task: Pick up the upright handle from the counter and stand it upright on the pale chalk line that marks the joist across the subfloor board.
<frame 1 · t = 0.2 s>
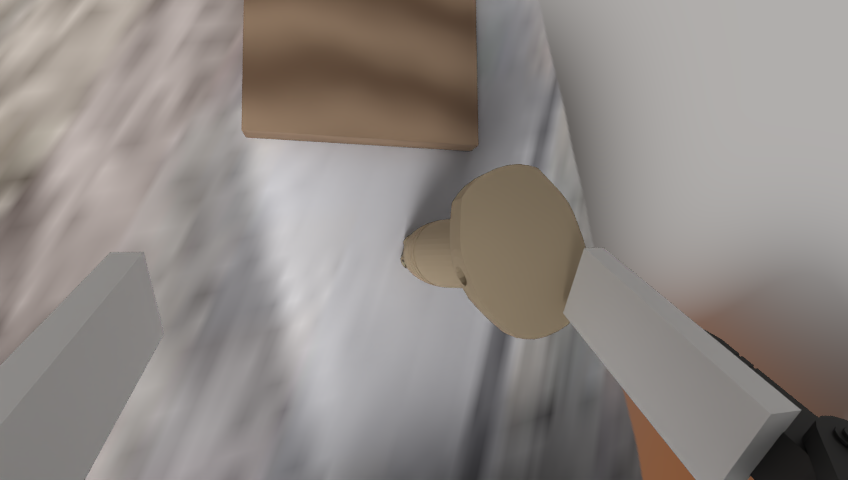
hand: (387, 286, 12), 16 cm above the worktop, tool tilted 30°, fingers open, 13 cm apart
subfloor board: (365, 10, 29), on the worktop
handle: (419, 254, 29), on the worktop
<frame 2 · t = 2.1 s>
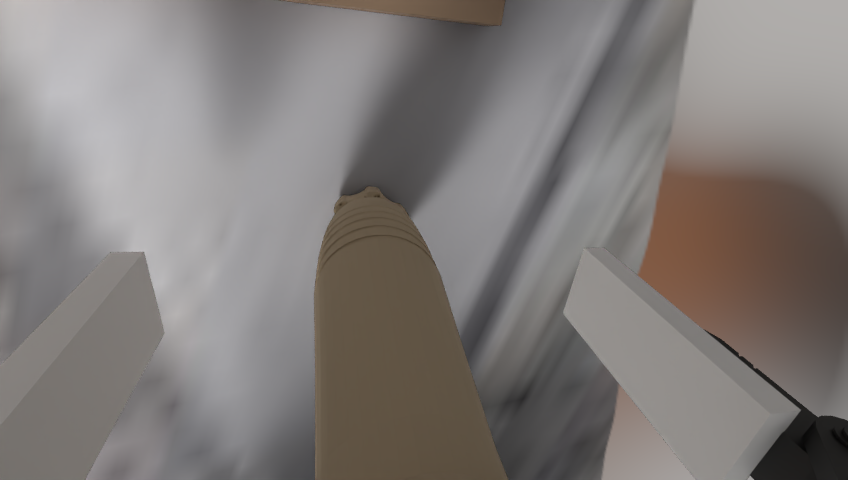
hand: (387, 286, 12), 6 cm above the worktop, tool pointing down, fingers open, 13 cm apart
handle: (367, 217, 17), on the worktop
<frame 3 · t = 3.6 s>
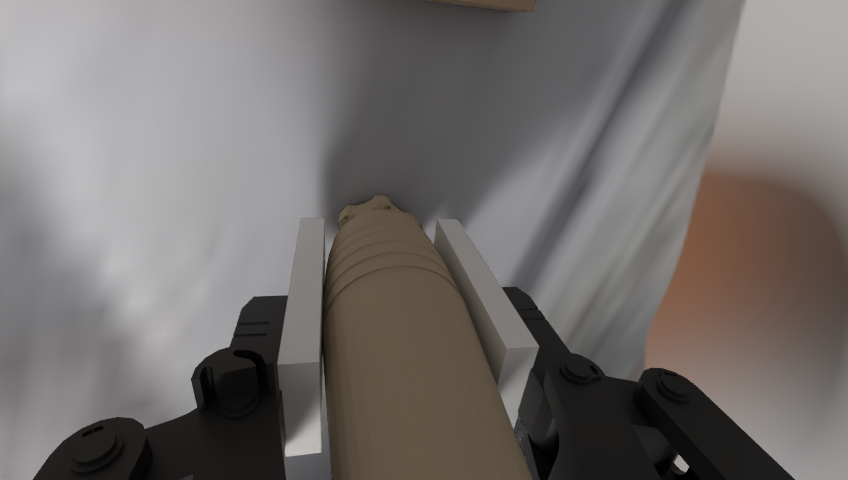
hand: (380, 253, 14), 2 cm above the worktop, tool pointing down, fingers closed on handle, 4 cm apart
handle: (374, 228, 16), on the worktop, touching gripper
when the fingers open (5 cm above the worktop, at t = 10.5 s): handle drops 1 cm, resting on subfloor board.
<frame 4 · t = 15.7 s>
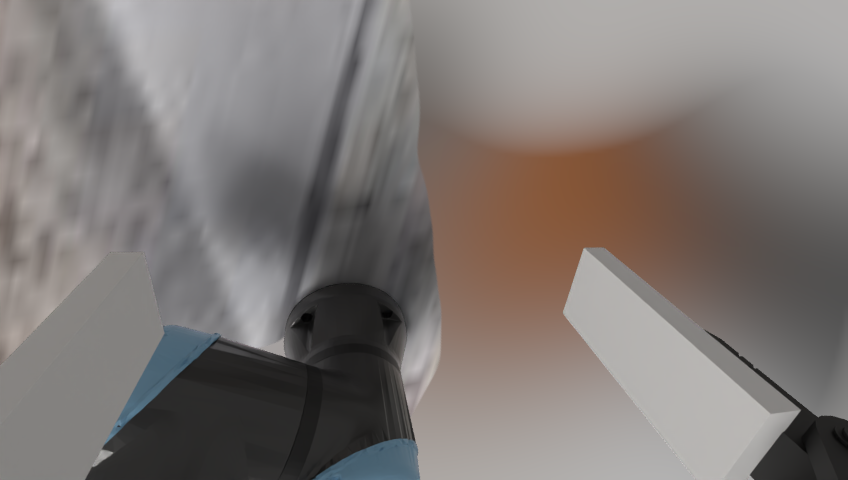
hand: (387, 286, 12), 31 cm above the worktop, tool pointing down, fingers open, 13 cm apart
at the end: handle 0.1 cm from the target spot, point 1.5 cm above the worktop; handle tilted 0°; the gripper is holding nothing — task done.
